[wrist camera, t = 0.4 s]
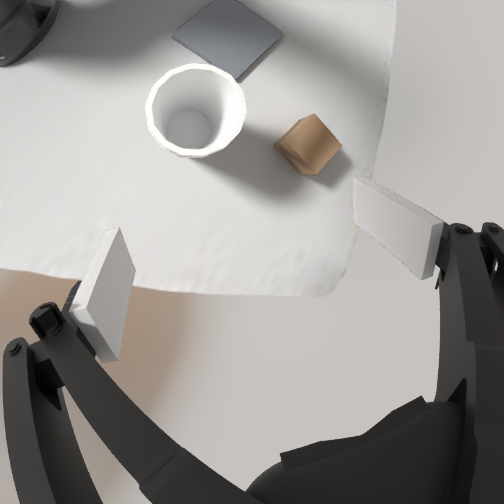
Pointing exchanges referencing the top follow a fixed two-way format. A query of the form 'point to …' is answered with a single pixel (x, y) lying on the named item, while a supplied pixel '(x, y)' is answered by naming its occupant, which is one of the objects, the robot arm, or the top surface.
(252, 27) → the mat
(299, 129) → the walnut block
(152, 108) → the foam cup
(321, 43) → the top surface
